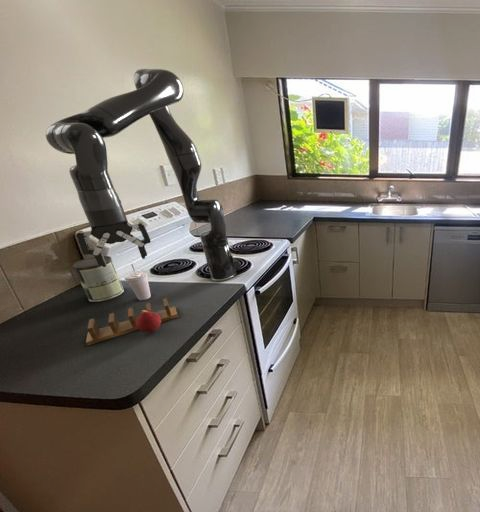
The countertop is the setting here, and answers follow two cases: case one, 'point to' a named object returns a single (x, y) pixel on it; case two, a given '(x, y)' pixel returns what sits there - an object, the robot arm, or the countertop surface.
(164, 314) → the dish rack
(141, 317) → the red round piece
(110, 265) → the coffee can
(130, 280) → the smoothie
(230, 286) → the countertop surface
